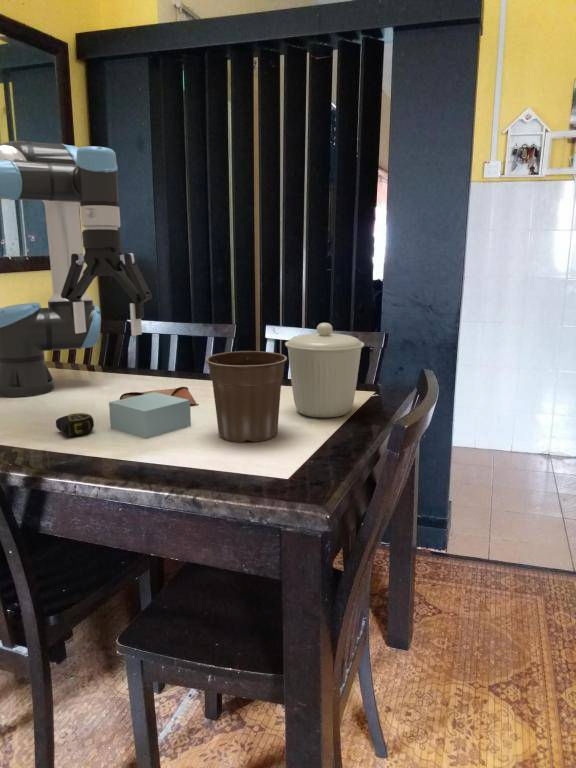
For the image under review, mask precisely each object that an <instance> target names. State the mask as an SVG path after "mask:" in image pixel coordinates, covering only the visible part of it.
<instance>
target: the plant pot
mask: <svg viewBox="0 0 576 768" xmlns="http://www.w3.org/2000/svg"><path fill="white" fill-rule="evenodd" d="M287 361H288V357H287V356H286V355H285V354H281V353H278V352H270V351H262V350H261V351H257V350H238V351H228V352H220V353H215V354H212V355H209V356H207V357H206V358H205V362H206V364H207V365H208V371H209V377H210V380H211V382H212V389H213V396H214V406H215V413H216V414H215V415H216V421H217V422H216V423H217V431H218V435H219V437H220V438H222V439H224V440H226V441H229V442H236V443H245V442H246V441H251V442H252V443H257V442H265V441H267V440H270V439H272V438H274V437H276V436H277V434H278V431H279V430H278V429H279V417H280V416H279V414H280V402H281V401H280V400H281V393H282V392H281V391H282V390H281V389H282V380H283V378H284V374H285V373H284V372H285V366H286V365H285V363H286V362H287Z"/></svg>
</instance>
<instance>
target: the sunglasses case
mask: <svg viewBox="0 0 576 768" xmlns="http://www.w3.org/2000/svg"><path fill="white" fill-rule="evenodd" d="M153 392H156V393H160V394H165V395H169V396H174V397H178V398H183V399H187V400H190V407H194V406H199V403H197V402H196V401H195V399H194V397H193V396H192V394H191V392H190V391H189V387H187V386H179V387H176V388H168V389H167V388H165V389H159V390H158V389H156V390H148V391H140V392H139V391H137V392H136V391H132V392H125V393H123V394H122V395H121V396H120V397H119V399H118V400H121V399H126V398H130V397H135V396H139V395H144V394H148V393H153Z"/></svg>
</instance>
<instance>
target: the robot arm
mask: <svg viewBox="0 0 576 768" xmlns="http://www.w3.org/2000/svg"><path fill="white" fill-rule="evenodd" d="M116 154H117V153H116V152H115V151H114V150H113V149H111V148H109V147H105V146H98V145H97V146H95V145H94V146H93V145H92V146H91V145H89V146H81V147H78V146H75V145H70V144H69V145H68V144H64V143H51V142H50V143H49V142H37V141H25V140H12V141H7V142H6V141H5V142H3V143H0V199H1V200H3V199H4V200H10V201H16V200H17V201H18V200H19V201H42V202H43V203H44V208H45V219H46V220H45V221H46V231H47V241H48V242H47V243H48V252H49V254H48V255H49V262H50V263H49V264H50V273H51V275H50V276H51V284H52V286H51V287H52V295H51V296H50V297H49V299H48V300H47V305H48V306H47V307H42V306H41V304H40V303H39V302H29V303H19V304H13V305H12V304H11V305H8V306H4V307H0V397H2V398H3V397H5V398H22V397H23V398H24V397H31V396H32V397H33V396H38V395H42V394H43V395H44V394H47V393H49V392H50V393H51V392H52V391H53V390H54V389H55V383H54V378H53V377H52V375H51V371H50V369H49V367H48V366H47V363H46V358H45V352H49V351H52V352H53V351H61V350H62V351H63V350H65V351H66V350H77V349H78V350H81V349H87V348H93V347H94V346H96V345H97V343H98V341H99V339H100V335H101V327H102V326H101V324H102V323H101V322H102V318H101V310H100V307H99V306H97V305H96V304H94V302H93V301H94V300H93V298H92V297H91V296H89V294H87V290H88V289H89V287H90V285H91V284H92V283H93V281H94V279H95V278H97V277H101V276H103V277H113V278H114V279H115V280H116V281H117V283H118V284H119V285H120V287H121V288H122V289H123V290H124V292H125V293H126V294H127V295H128V297H129V298H130V299H131V300H132V302H131V303H129V311H130V314H129V316H130V331H131V336H134V337H135V336H139V335H142V334H143V332H142V331H143V330H142V329H143V328H142V319H144V318H145V306H144V305H145V304H144V303H145V302H147V301H148V300H152V299H153V294H152V292H151V290H150V288H149V287H148V284H147V282H146V280H145V278H144V276H143V274H142V272H141V270H140V268H139V266H138V262H137V261H138V260H137V255H136V254H135V253H133V252H127V253H124V254H122V251H121V249H122V244H123V243H122V232H121V230H118V228H120V227H121V213H120V202H119V201H120V199H119V196H120V195H119V182H118V169H119V167H118V164H117V163H118V162H117V156H116ZM81 227H83V228H84V229H83V230H81ZM83 249H84V251H85V252H84V251H83ZM85 264H86V267H85ZM122 264H124V265H125V267H126V270H127V272H128V274H129V277H128V275H127V273H126V271H125V270H124V268H123V267H122ZM130 278H131V279H130Z"/></svg>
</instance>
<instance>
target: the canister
mask: <svg viewBox="0 0 576 768" xmlns="http://www.w3.org/2000/svg"><path fill="white" fill-rule="evenodd" d="M316 331H317V333H306V334H300V335H297V336H295V335H294V336H293V337H291V338H290V339H289V340H287V341H285V343H284V345H285V347H286V348H287V352H288V361H289V372H290V380H291V382H290V383H291V388H292V389H291V390H292V396H293V402H294V406H295V408H296V409H297V411H298V412H299V413H301V415H304V416H307V417H313V418H324V419H325V418H337V417H341V416H345V415H347V414H348V413H349V412H350V411H351V410H352V408H353V405H354V401H355V396H356V389H357V383H358V375H359V374H358V373H359V368H360V367H359V366H360V362H361V361H360V360H361V352H362V348H364V346H365V343H364V342H363V341H360V339H359V338H357V337H354V336H353V335H349V334H341V333H340V334H339V333H332V332H333V326H332V325H331V323H329V322H321V323H319V324H318V325H317V326H316Z"/></svg>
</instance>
